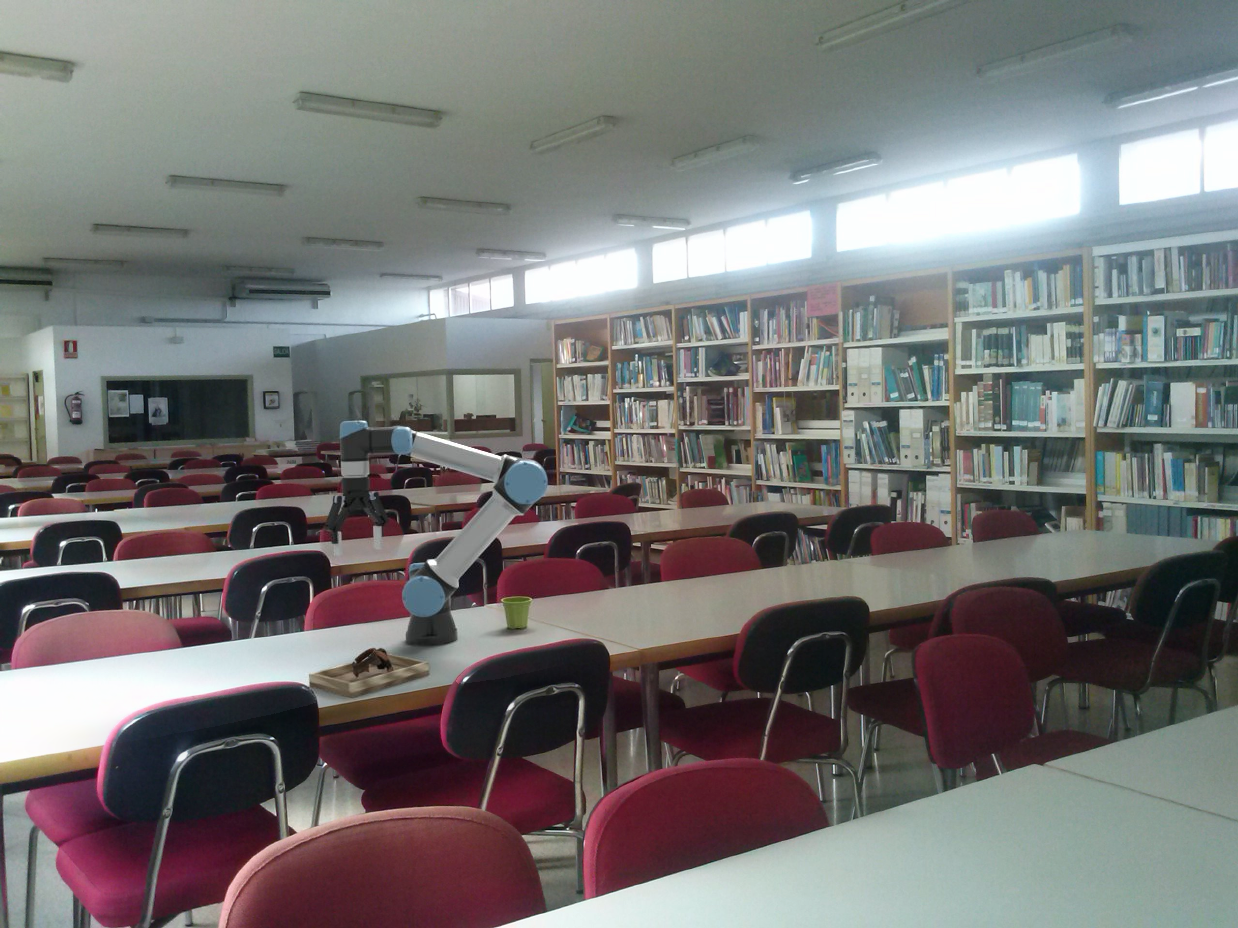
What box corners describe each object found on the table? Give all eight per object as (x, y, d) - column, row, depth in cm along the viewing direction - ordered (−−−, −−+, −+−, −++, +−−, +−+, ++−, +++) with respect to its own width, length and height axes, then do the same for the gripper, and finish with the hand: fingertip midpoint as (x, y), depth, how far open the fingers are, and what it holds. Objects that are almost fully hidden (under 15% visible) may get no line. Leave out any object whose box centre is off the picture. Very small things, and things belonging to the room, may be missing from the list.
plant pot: (516, 622, 312) (515, 595, 311) (538, 625, 306) (537, 598, 306) (495, 628, 304) (495, 600, 304) (518, 631, 299) (517, 603, 298)
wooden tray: (386, 664, 263) (386, 653, 263) (429, 674, 253) (428, 662, 253) (309, 686, 244) (308, 673, 244) (352, 697, 234) (351, 684, 234)
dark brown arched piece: (392, 683, 243) (374, 657, 241) (360, 698, 244) (342, 673, 242) (404, 658, 254) (386, 633, 252) (373, 673, 256) (356, 649, 254)
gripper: (382, 472, 285) (385, 545, 286) (308, 479, 265) (312, 557, 267) (399, 473, 280) (402, 547, 282) (325, 480, 261) (328, 559, 262)
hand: (358, 552), depth 274 cm, fingers open, 13 cm apart
